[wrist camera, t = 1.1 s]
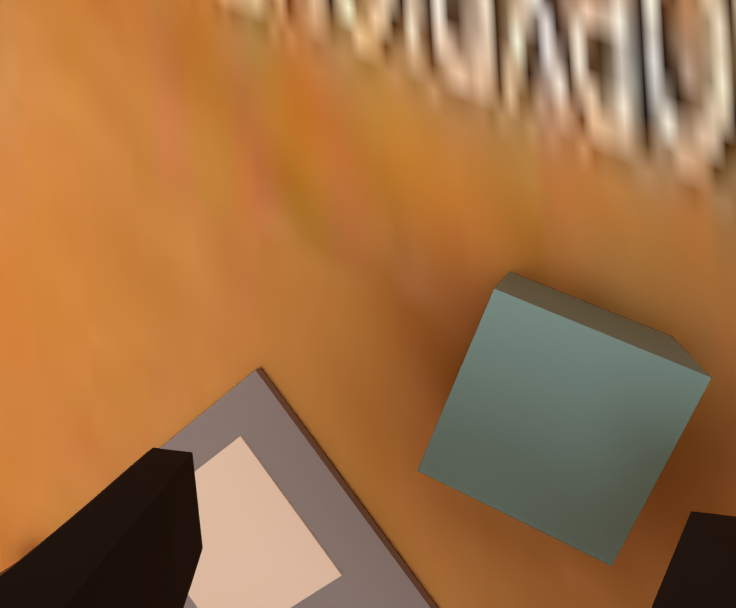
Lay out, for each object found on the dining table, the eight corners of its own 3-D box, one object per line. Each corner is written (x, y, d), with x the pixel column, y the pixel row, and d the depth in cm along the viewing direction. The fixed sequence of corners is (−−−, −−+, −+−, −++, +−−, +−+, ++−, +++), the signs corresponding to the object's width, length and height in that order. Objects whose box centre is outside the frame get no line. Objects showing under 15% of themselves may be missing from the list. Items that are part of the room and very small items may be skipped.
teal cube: (671, 336, 18) (711, 377, 13) (598, 481, 19) (611, 566, 15) (510, 271, 19) (494, 288, 15) (450, 412, 20) (417, 470, 16)
